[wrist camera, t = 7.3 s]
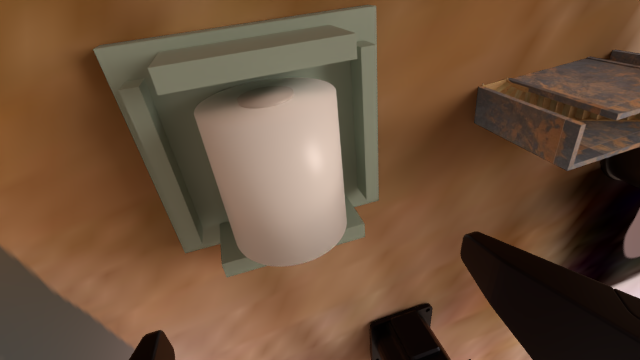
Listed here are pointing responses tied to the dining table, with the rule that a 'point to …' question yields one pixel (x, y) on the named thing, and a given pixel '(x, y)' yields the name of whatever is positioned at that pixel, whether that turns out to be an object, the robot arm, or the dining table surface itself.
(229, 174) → the roll
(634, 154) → the french press
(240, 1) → the dining table surface
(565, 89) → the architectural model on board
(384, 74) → the dining table surface
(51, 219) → the dining table surface
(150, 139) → the holder
